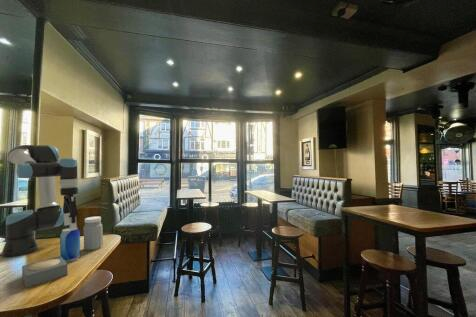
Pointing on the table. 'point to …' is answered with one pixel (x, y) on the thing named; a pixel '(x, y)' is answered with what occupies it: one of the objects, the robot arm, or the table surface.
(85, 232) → the jar
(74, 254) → the beer can
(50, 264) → the riser
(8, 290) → the table surface
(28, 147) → the robot arm
